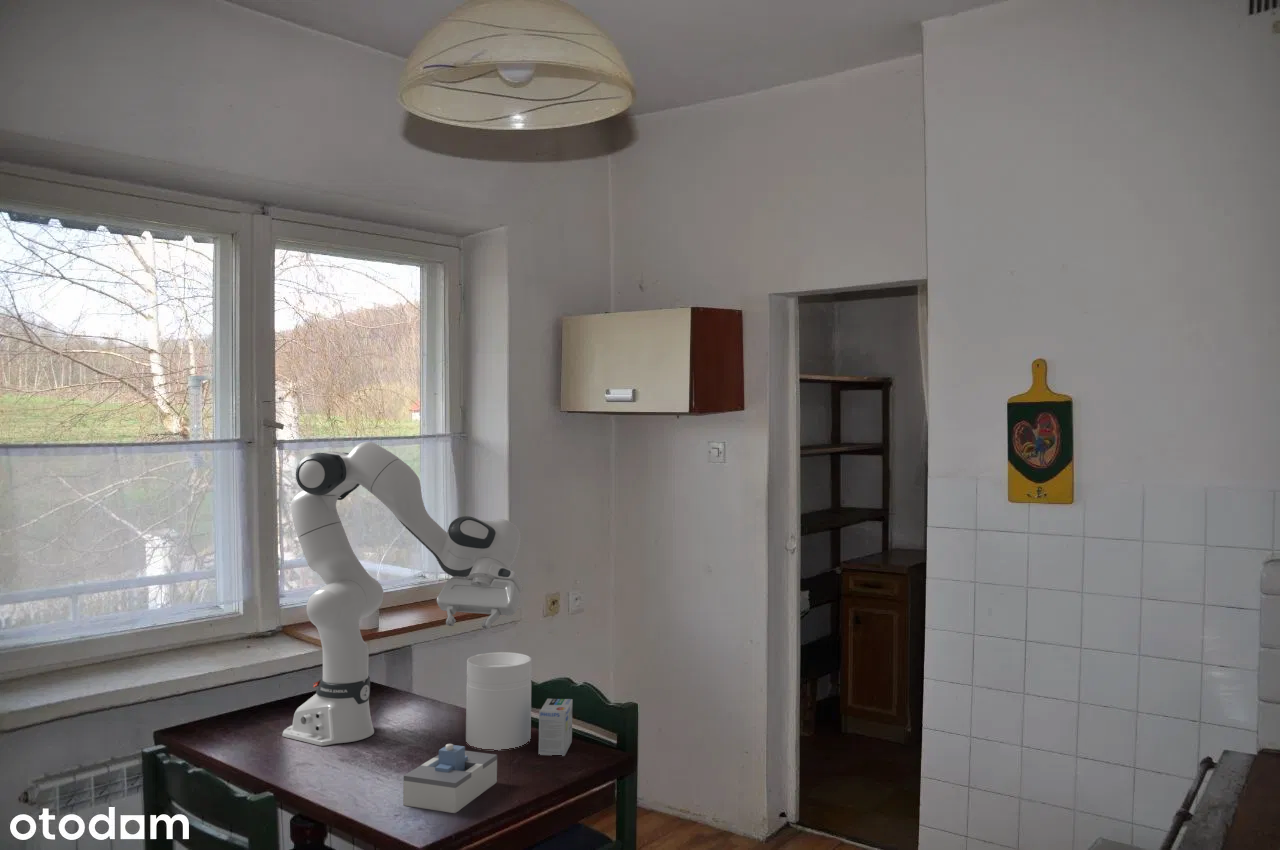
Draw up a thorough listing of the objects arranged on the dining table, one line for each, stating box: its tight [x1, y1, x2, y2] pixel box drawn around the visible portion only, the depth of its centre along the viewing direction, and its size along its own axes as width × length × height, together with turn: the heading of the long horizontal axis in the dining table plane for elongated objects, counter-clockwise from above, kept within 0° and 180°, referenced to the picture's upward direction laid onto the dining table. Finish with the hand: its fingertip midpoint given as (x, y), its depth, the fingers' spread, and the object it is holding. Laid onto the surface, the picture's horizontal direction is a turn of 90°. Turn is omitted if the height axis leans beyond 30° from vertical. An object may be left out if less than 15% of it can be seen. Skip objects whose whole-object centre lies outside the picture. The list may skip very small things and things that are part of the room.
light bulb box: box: [538, 698, 573, 757], centre depth 227 cm, size 11×7×11 cm, turn 175°
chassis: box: [402, 750, 498, 814], centre depth 197 cm, size 12×18×6 cm, turn 161°
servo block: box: [435, 743, 468, 773], centre depth 197 cm, size 4×8×9 cm, turn 161°
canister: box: [465, 651, 533, 751], centre depth 233 cm, size 16×16×20 cm
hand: (467, 626), depth 218 cm, fingers open, 8 cm apart
